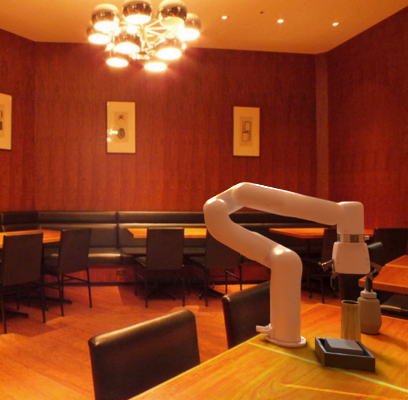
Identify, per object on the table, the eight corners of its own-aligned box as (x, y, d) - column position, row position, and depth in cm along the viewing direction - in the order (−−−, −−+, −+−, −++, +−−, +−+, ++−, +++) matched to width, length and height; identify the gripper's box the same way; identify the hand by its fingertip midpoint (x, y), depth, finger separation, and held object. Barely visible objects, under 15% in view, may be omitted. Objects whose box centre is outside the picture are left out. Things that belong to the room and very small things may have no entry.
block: (331, 364, 110) (331, 347, 110) (324, 353, 117) (324, 337, 117) (363, 367, 107) (363, 350, 107) (354, 356, 115) (354, 340, 115)
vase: (366, 348, 122) (365, 304, 122) (347, 348, 122) (346, 305, 122) (354, 341, 128) (353, 299, 128) (335, 341, 128) (335, 299, 128)
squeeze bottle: (383, 337, 131) (383, 285, 131) (355, 333, 136) (355, 283, 136) (381, 330, 138) (381, 281, 138) (355, 326, 143) (354, 279, 142)
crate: (324, 368, 108) (324, 352, 108) (314, 351, 120) (314, 337, 120) (375, 374, 104) (375, 358, 104) (360, 355, 116) (360, 341, 116)
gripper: (376, 238, 125) (377, 289, 126) (318, 237, 131) (319, 286, 131) (385, 240, 118) (386, 294, 118) (323, 239, 124) (324, 291, 124)
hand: (351, 290), depth 125 cm, fingers open, 9 cm apart
